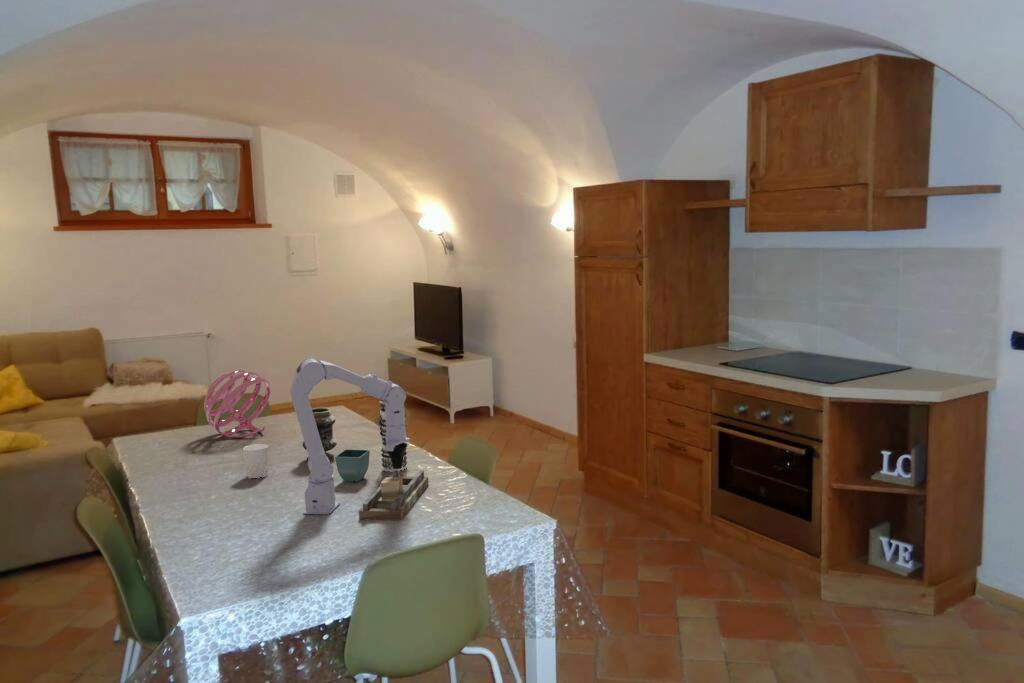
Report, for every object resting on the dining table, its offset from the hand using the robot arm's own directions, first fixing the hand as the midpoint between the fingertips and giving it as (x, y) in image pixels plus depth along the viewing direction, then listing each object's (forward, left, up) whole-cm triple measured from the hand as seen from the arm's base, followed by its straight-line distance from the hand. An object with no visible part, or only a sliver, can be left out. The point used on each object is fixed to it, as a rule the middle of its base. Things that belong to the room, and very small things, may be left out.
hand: (397, 468), depth 234 cm
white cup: (+19, +55, -9) cm, 59 cm away
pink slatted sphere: (+74, +90, -9) cm, 117 cm away
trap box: (-3, 0, -9) cm, 9 cm away
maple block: (-7, 0, -6) cm, 10 cm away
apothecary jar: (+40, +41, -9) cm, 58 cm away
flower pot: (+16, +20, -9) cm, 27 cm away
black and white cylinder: (+29, +10, -9) cm, 32 cm away
